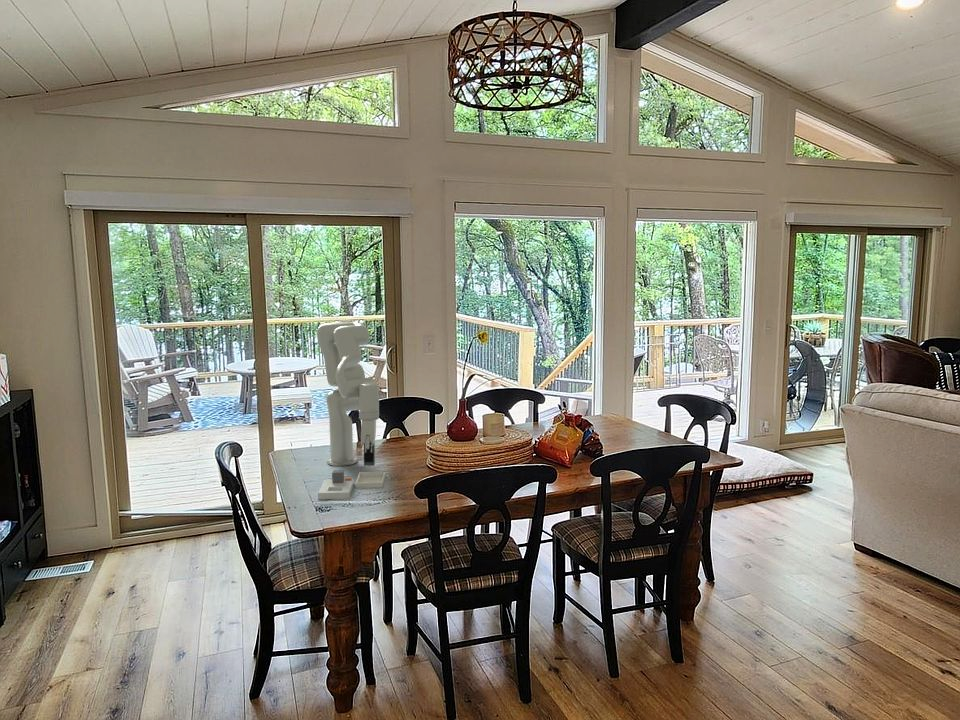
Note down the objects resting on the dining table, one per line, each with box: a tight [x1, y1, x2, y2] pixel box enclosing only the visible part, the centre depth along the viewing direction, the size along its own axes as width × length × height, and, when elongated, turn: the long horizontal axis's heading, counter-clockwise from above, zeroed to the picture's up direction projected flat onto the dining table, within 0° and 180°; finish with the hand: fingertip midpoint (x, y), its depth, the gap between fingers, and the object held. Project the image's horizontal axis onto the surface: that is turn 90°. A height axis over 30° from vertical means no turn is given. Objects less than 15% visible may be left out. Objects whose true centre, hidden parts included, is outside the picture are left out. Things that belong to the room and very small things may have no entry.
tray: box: [354, 471, 386, 489], centre depth 257 cm, size 13×10×2 cm
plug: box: [363, 441, 376, 467], centre depth 256 cm, size 3×4×9 cm
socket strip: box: [317, 469, 355, 501], centre depth 246 cm, size 15×11×7 cm
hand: (369, 460), depth 257 cm, fingers closed on plug, 3 cm apart
